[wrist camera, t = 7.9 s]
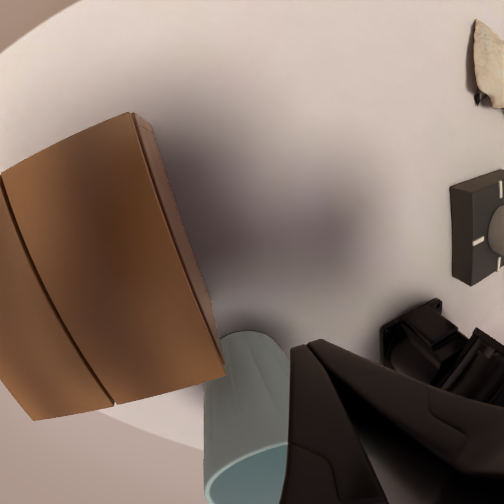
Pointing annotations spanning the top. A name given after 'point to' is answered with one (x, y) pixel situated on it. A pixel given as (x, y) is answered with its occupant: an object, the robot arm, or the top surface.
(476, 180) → the panel
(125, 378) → the flap
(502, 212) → the knob
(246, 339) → the cup
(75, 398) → the wooden box
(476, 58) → the arrowhead
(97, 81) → the top surface
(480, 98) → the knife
